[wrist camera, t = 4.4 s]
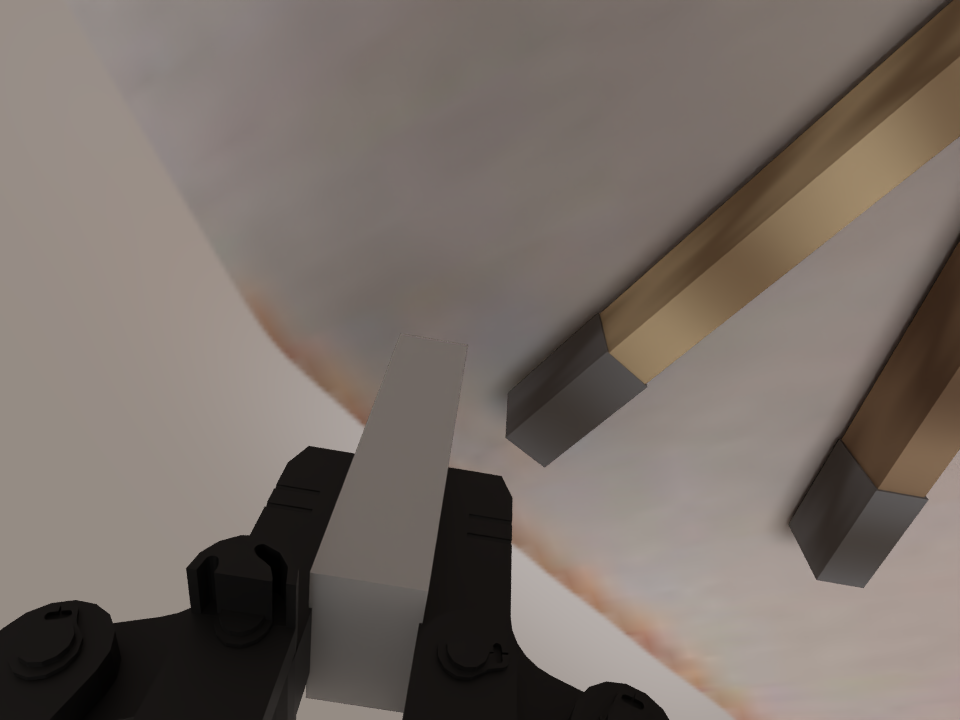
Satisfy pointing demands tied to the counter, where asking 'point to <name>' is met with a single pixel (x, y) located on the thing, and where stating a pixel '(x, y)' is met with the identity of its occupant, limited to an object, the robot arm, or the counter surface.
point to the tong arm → (749, 241)
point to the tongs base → (889, 447)
